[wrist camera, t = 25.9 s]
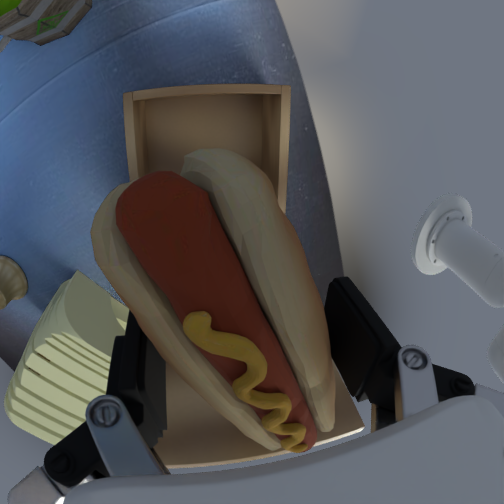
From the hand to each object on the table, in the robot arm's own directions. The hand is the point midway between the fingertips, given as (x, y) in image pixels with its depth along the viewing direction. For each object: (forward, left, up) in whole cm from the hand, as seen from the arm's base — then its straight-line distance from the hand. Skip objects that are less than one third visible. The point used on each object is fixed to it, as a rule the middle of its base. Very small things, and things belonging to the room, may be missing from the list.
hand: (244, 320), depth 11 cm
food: (0, 0, -1) cm, 1 cm away
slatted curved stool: (+20, +22, -26) cm, 39 cm away
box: (0, 0, -26) cm, 26 cm away
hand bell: (+34, +13, -26) cm, 44 cm away
